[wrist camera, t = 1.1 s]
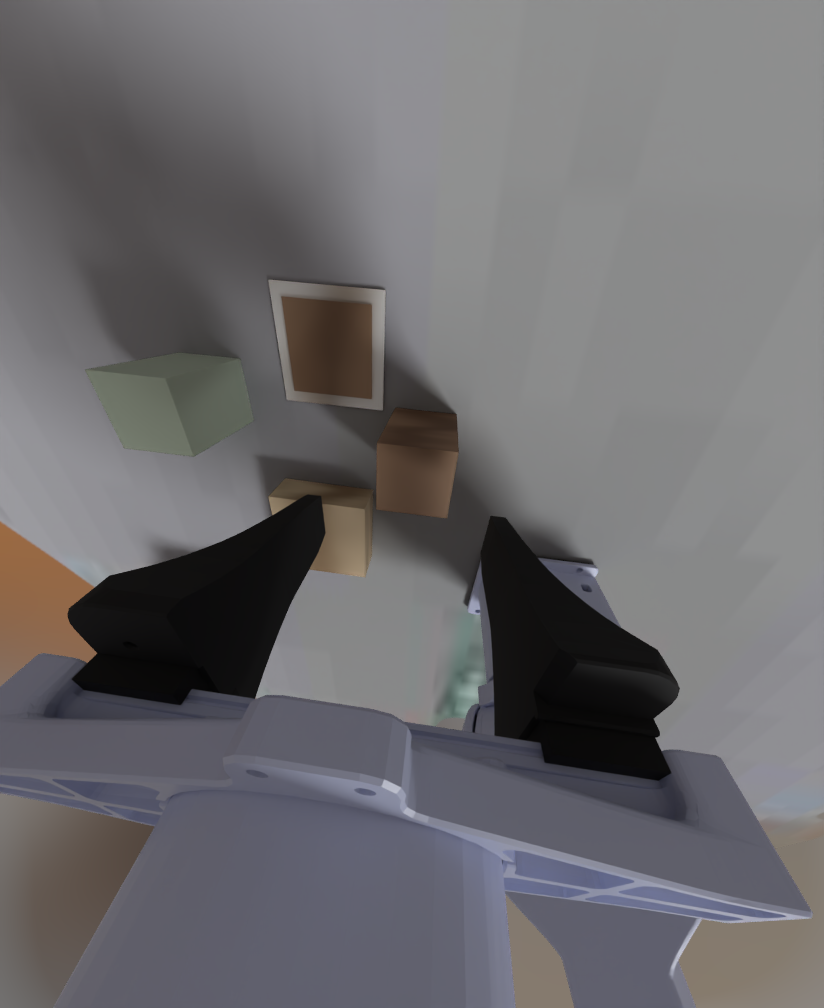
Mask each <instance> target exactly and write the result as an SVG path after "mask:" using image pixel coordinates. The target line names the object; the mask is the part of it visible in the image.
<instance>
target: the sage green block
mask: <svg viewBox="0 0 824 1008" xmlns="http://www.w3.org/2000/svg"><path fill="white" fill-rule="evenodd" d="M85 371H86V373H87V375H88V377H89V379H90V381H91V383H92V385H93V387H94V389H95V391H96V393H97V395H98V397H99V399H100V401H101V403H102V405H103V407H104V409H105V411H106V413H107V415H108V417H109V419H110V421H111V423H112V425H113V427H114V429H115V431H116V433H117V435H118V437H119V439H120V441H121V443H122V445H123V447H124V448H126V449H134V450H142V451H150V452H159V453H167V454H175V455H183V456H192V457H194V456H196V455H198V454H199V453H201V452H203V451H204V450H206V449H208V448H209V447H211V446H213V445H214V444H216V443H218V442H219V441H221V440H223V439H224V438H226V437H228V436H230V435H231V434H233V433H235V432H236V431H238V430H240V429H241V428H243V427H245V426H246V425H248V424H250V423H251V422H253V421H254V418H253V414H252V410H251V405H250V401H249V396H248V392H247V387H246V383H245V379H244V374H243V370H242V365H241V361H240V359H238V358H228V357H219V356H209V355H199V354H190V353H180V352H179V353H174V354H168V355H163V356H157V357H152V358H146V359H141V360H135V361H130V362H124V363H119V364H113V365H108V366H102V367H97V368H91V369H86V370H85Z"/></svg>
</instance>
